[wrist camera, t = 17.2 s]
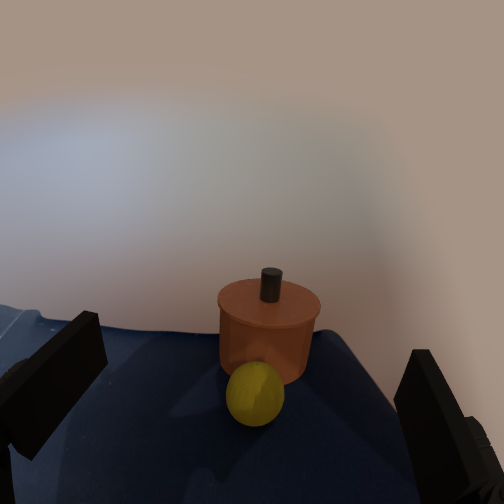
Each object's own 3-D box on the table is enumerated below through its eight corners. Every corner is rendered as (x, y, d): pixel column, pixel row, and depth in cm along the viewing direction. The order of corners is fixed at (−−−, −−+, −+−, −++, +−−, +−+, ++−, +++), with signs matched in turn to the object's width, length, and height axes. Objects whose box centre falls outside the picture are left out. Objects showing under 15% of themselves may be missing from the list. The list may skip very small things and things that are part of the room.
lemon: (229, 401, 32) (231, 343, 30) (279, 405, 32) (288, 349, 29) (221, 437, 27) (221, 380, 24) (278, 443, 26) (289, 386, 24)
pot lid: (302, 285, 44) (306, 254, 43) (334, 331, 33) (342, 293, 31) (215, 285, 42) (215, 253, 41) (220, 336, 31) (221, 295, 29)
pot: (293, 334, 46) (301, 282, 44) (317, 382, 36) (330, 324, 33) (217, 336, 44) (218, 282, 42) (223, 389, 34) (224, 328, 31)
